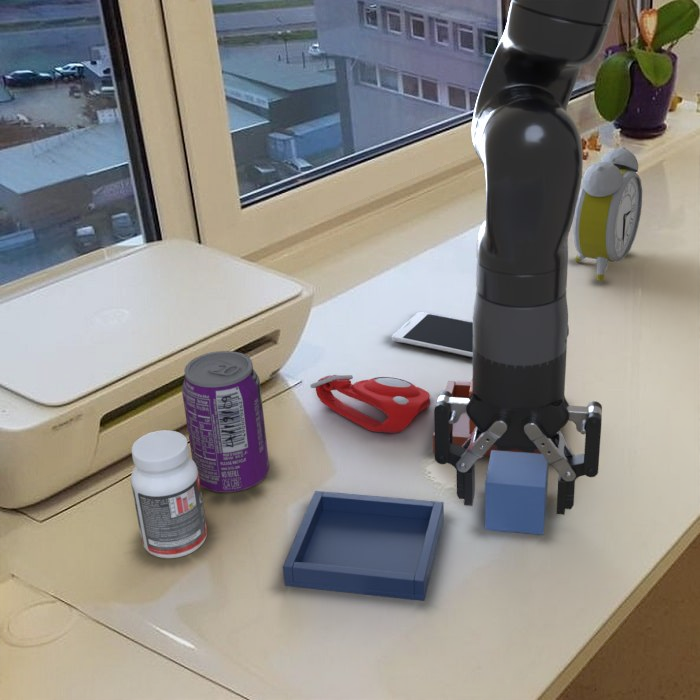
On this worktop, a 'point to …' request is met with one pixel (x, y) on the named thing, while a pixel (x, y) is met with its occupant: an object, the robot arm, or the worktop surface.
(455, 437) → the terracotta tray
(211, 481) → the beverage can
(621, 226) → the alarm clock
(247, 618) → the worktop surface
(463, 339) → the smartphone
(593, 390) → the worktop surface
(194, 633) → the worktop surface
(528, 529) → the blue block
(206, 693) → the worktop surface
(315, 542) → the blue tray
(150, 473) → the pill bottle
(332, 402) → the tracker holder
